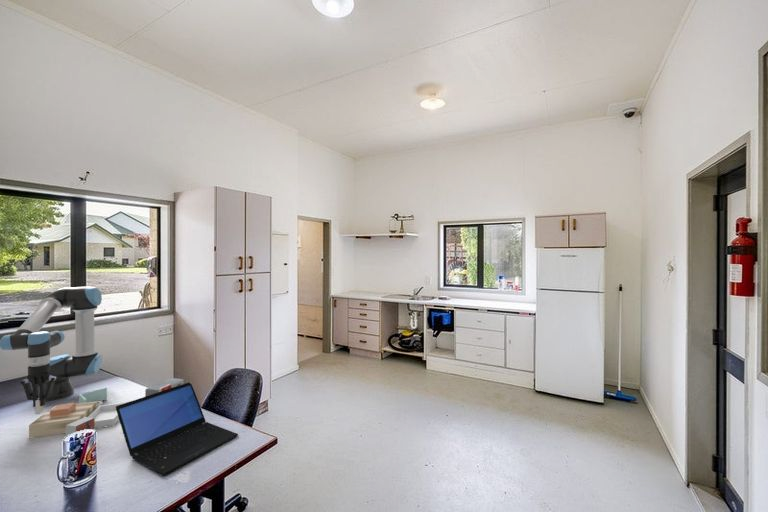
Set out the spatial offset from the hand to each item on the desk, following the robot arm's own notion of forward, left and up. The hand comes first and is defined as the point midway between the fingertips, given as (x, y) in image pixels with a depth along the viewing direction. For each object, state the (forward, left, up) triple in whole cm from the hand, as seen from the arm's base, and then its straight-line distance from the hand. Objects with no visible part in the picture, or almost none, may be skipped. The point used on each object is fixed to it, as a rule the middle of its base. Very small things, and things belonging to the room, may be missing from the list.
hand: (39, 412), depth 161 cm
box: (0, +27, -7) cm, 28 cm away
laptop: (+38, +67, -8) cm, 78 cm away
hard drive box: (+16, +56, -8) cm, 59 cm away
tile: (0, +9, -1) cm, 9 cm away
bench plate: (0, +10, -7) cm, 13 cm away
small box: (+25, +26, -8) cm, 37 cm away
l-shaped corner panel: (-20, +14, -8) cm, 26 cm away
